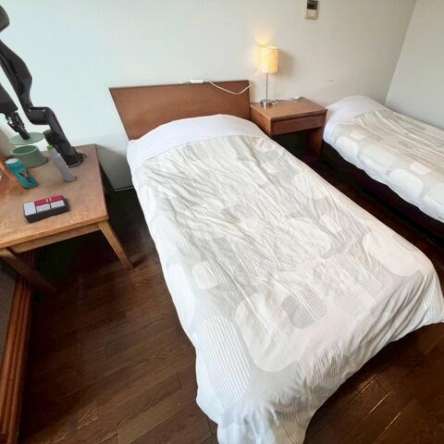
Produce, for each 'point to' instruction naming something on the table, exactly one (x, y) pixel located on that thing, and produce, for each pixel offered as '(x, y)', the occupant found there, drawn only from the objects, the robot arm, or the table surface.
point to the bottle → (60, 164)
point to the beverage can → (21, 172)
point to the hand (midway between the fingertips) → (26, 137)
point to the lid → (32, 139)
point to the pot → (29, 155)
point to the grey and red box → (44, 208)
